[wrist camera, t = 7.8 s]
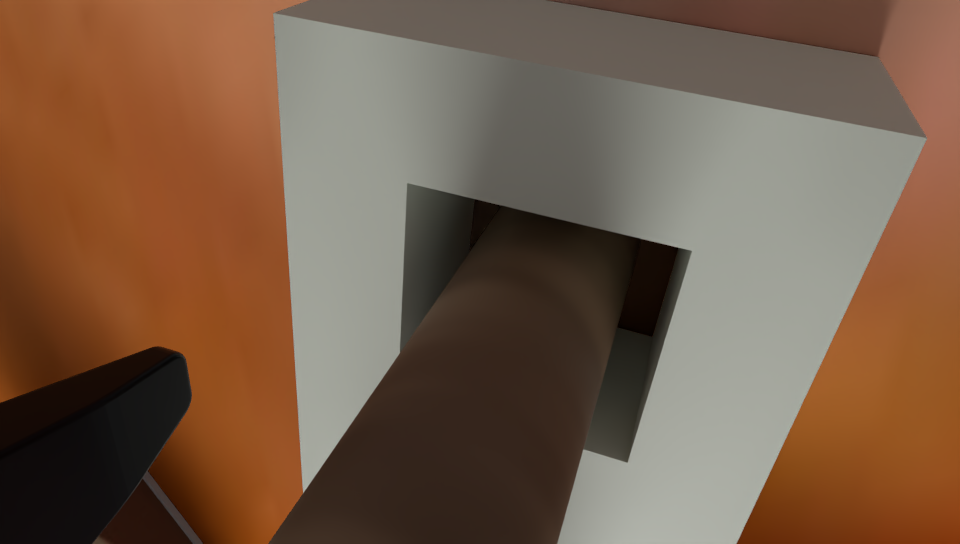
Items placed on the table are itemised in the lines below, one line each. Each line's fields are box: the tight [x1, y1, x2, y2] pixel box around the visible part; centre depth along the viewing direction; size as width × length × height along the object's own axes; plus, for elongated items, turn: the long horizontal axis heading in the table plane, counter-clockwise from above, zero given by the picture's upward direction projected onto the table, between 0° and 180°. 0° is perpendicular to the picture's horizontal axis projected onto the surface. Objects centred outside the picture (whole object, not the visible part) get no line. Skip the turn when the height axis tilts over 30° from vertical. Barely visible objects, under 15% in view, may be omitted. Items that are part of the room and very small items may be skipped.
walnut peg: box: [269, 206, 641, 544], centre depth 11 cm, size 3×3×10 cm
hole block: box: [273, 0, 927, 544], centre depth 16 cm, size 18×9×4 cm, turn 174°
